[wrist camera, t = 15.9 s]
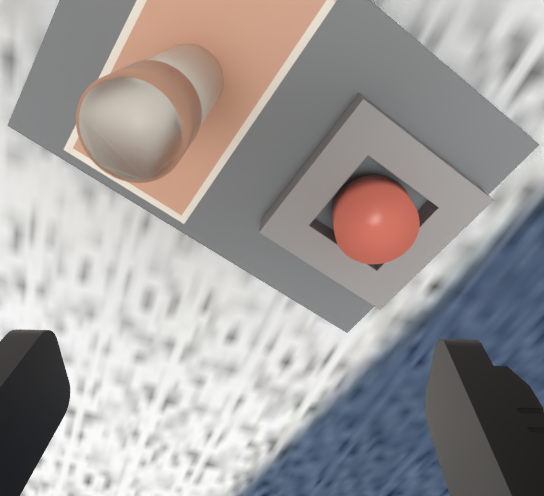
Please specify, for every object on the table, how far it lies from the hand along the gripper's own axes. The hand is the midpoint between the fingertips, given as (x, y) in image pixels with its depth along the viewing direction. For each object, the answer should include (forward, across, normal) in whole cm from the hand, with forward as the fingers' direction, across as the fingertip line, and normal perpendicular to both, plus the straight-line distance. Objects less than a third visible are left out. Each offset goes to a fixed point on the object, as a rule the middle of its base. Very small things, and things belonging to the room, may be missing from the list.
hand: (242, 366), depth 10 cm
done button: (+17, -5, +4) cm, 18 cm away
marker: (+18, +4, -3) cm, 18 cm away
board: (+18, 0, 0) cm, 18 cm away
